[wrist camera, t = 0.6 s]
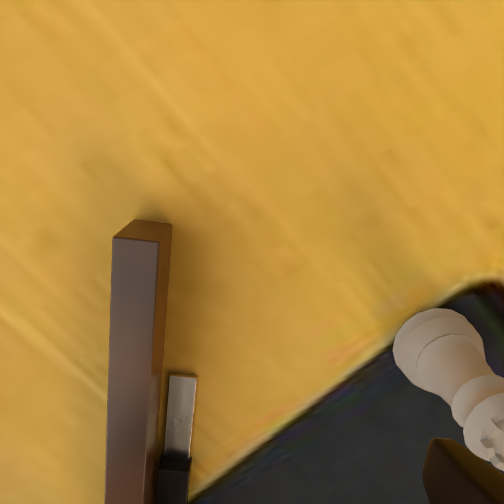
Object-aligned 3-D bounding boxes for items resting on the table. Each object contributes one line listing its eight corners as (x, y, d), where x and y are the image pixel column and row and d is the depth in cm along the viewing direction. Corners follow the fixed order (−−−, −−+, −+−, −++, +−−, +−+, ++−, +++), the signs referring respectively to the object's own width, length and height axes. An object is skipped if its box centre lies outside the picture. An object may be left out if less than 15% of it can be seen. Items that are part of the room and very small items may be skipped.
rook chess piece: (472, 300, 23) (586, 386, 15) (469, 372, 24) (573, 486, 17) (388, 308, 23) (461, 399, 15) (390, 381, 24) (457, 498, 17)
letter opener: (185, 528, 27) (182, 546, 26) (156, 526, 27) (152, 544, 26) (199, 375, 24) (197, 388, 23) (167, 372, 24) (163, 385, 23)
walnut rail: (151, 531, 27) (137, 589, 24) (119, 529, 27) (101, 587, 24) (172, 223, 21) (159, 241, 18) (132, 219, 21) (112, 236, 18)
